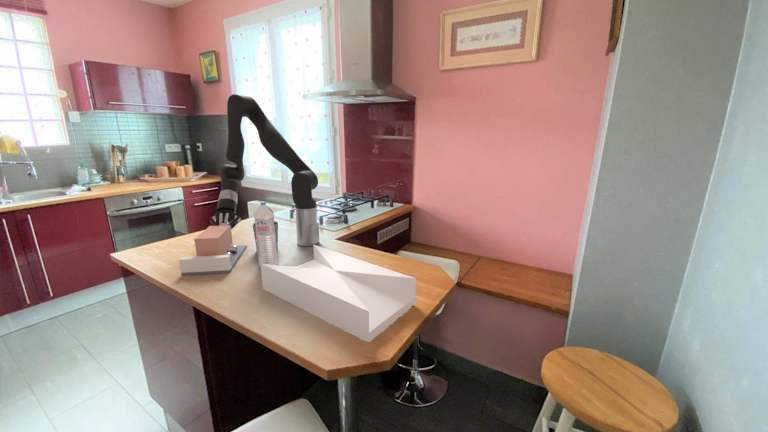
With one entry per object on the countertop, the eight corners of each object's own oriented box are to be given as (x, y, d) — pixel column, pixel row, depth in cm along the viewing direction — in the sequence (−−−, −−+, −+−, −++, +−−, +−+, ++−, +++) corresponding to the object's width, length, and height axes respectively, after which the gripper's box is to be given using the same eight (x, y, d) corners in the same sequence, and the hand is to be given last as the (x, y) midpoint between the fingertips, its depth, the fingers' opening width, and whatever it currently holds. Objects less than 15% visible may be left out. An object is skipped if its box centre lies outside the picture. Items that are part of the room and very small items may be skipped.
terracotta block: (212, 244, 131) (209, 225, 128) (232, 243, 132) (230, 225, 130) (197, 259, 115) (194, 238, 113) (220, 258, 117) (218, 237, 115)
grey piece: (207, 249, 136) (205, 235, 135) (246, 247, 139) (245, 234, 137) (181, 275, 112) (179, 259, 110) (230, 272, 114) (228, 257, 113)
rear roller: (239, 245, 132) (237, 244, 129) (238, 252, 131) (236, 251, 129) (205, 247, 130) (202, 245, 127) (205, 254, 129) (202, 253, 126)
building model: (414, 307, 95) (416, 278, 93) (368, 345, 78) (369, 311, 75) (314, 267, 121) (313, 244, 118) (262, 289, 104) (260, 263, 101)
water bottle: (281, 263, 123) (277, 201, 116) (268, 270, 117) (262, 205, 110) (268, 260, 125) (263, 199, 119) (254, 267, 119) (248, 202, 113)
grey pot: (253, 255, 130) (250, 227, 127) (257, 246, 140) (254, 220, 137) (278, 253, 133) (276, 226, 129) (281, 245, 142) (279, 219, 139)
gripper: (208, 198, 135) (201, 234, 127) (241, 197, 138) (236, 232, 129) (214, 207, 142) (208, 241, 133) (245, 206, 144) (241, 240, 136)
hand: (222, 237), depth 131 cm, fingers closed
